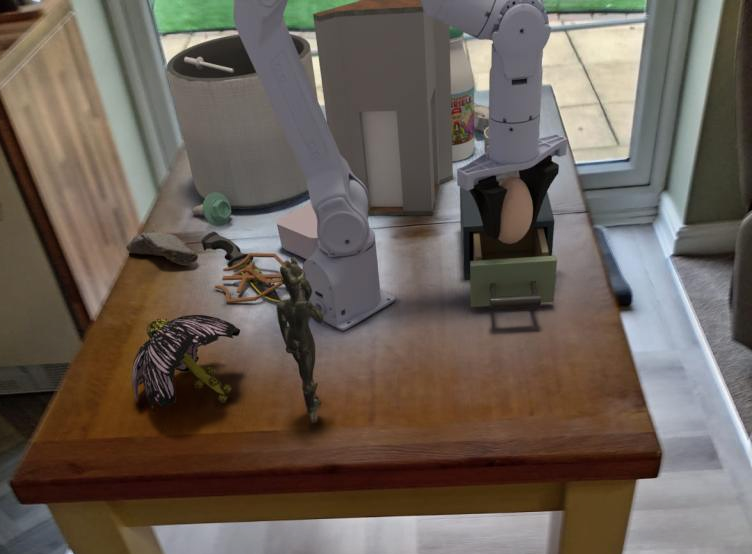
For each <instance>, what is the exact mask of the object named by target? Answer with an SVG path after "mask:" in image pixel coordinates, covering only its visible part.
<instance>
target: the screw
mask: <svg viewBox="0 0 752 554" xmlns="http://www.w3.org/2000/svg"><path fill="white" fill-rule="evenodd" d="M190 211H191V214H193V215H200V216H201V217H202V216H204V218H205V220H206V222H207V223H209V224H210V225H212V226H214V227H223V226H225V225H226V224H227V223H228V222H229V221H230V218H231V216H232V208H231V206H230V203H229V201H228V199H227V198H226V197H225V196H224V195H223V194H221V193H218V192H214V193H210V194H209V195H208V196H207V197H206V198H205V199H204V200H203V203H201V204H200V205H196V206H195V207H194V208H191V210H190Z"/></svg>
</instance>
